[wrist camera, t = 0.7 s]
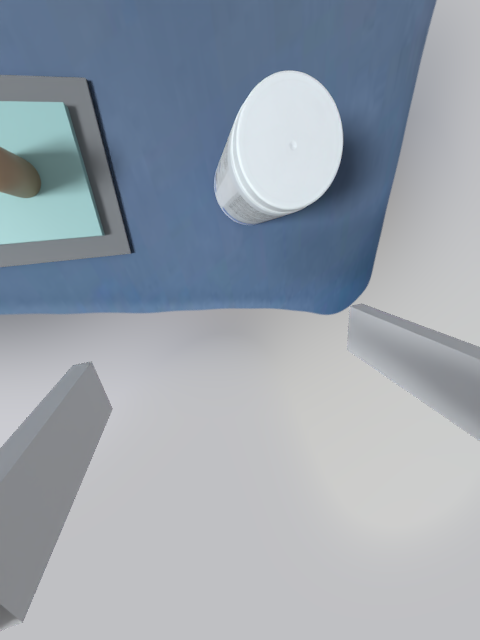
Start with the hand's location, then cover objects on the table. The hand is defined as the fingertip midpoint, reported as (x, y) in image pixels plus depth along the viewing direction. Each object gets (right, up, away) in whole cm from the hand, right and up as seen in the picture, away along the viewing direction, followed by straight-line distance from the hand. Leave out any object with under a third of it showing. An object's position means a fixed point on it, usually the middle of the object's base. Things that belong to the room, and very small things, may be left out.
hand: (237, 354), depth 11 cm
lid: (-24, +18, +14) cm, 33 cm away
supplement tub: (+1, +20, +20) cm, 28 cm away
